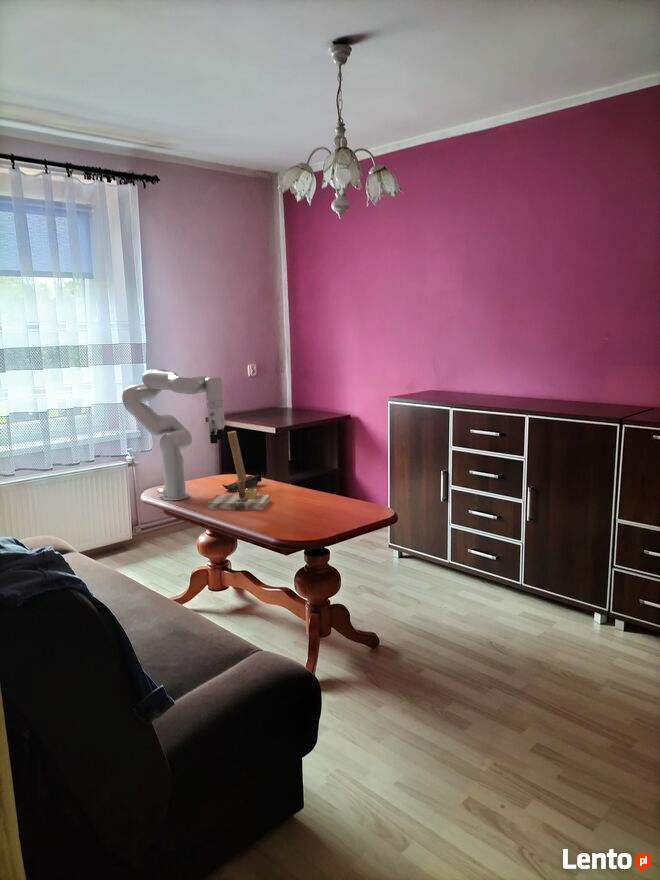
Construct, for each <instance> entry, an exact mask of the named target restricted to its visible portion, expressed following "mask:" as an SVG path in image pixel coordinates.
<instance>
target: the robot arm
mask: <svg viewBox="0 0 660 880" xmlns="http://www.w3.org/2000/svg"><path fill="white" fill-rule="evenodd" d="M141 381H142V383H137V384H132V385H129V386H127V387H126V388H124V390H123V391H122V394H121V398H122V403H123V407H124V408H125V409H126V411H127V412H128V413H129V414H130V415H131V416H132V417H134V418H135V419H136V421H138V422H139V424H140V425H142V426H143V428H144V429H145V430H147V432H148V433H149V434H150V435H151V436H152V437H160V440H159V448H160V452H161V456H162V466H163V478H164V488H157V491H156V492H157V493H158V494H159V495H161V494H162V500H164V501H170V502H171V501H172V502H173V501H174V500H175V501H182V500H185V499H188V498H189V497H190V493H189V492H187V490H186V487H187V486H186V476H185V475H186V474H185V461H184V457H183V454H182V452H181V451H183V450H185V449H188V448H190V447H191V445H192V443H193V437H192V434H191V433H190V431H189V430H188V429H187V428H186V426H184V425H183V424H182V422H180V421H179V420H178V419H177V418H176V417H174V415H171V414H168V413H167V414H161V415H160V414H158V413H157V412H155V411H154V410H153V408H151V406H149V405H148V404H145V403H144V402H147V401H151V400H153V399H155V398H156V397H157V396H158V395H159V394H160V393H161V392H163V390H165V391H171V392H173V393H178V394H183V395H197V394H202V393H205V400H206V408H207V409H208V416H207V417H208V428H209V441H210V444H218V440H224V439H225V434H224V427H226V421H225V419H226V418H225V412H224V406H225V405H224V391H223V379H222V378H221V376H205V375H200V376H199V375H198V376H193V377H191V376H190V377H188V376H187V377H184V376H179V375H178V374H177V373H176V372H174V371H167V370H166V369H164V368H157V369H156V368H154V369H148V370H146V371H145V372H144V373H143V374H142V378H141Z"/></svg>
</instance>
